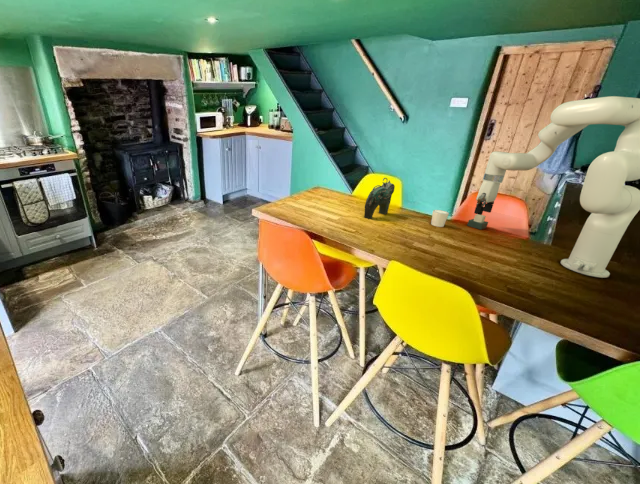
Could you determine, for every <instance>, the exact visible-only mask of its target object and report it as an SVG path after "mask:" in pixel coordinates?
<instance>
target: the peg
mask: <svg viewBox="0 0 640 484" xmlns="http://www.w3.org/2000/svg"><path fill="white" fill-rule="evenodd" d="M486 218H487V216H486V215H484V214H482V215H479V214H474V218H473V219H474V220H473V221H476V222H479V223H483V222H484V221H485V220H486Z"/></svg>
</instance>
